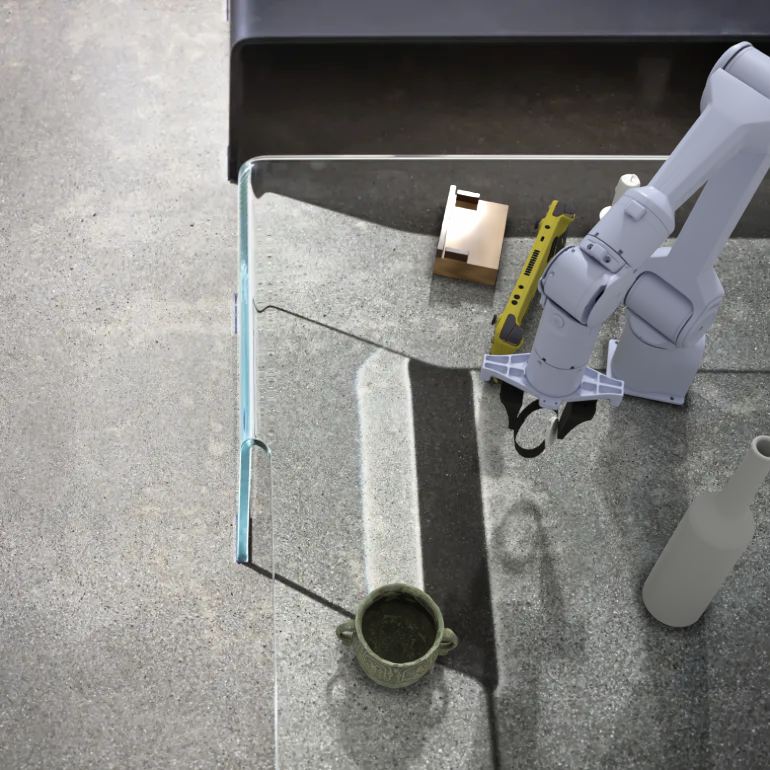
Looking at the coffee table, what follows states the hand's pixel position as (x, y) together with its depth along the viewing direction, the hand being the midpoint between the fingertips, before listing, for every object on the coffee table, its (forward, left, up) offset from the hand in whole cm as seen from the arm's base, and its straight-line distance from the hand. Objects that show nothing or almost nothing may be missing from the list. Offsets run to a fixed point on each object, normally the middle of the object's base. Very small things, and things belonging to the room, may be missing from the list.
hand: (535, 427), depth 125 cm
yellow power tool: (+3, -22, -7) cm, 23 cm away
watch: (0, 0, -2) cm, 2 cm away
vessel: (+10, +26, -7) cm, 29 cm away
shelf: (+11, -32, -7) cm, 35 cm away
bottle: (-17, +13, -7) cm, 23 cm away
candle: (-7, -38, -7) cm, 39 cm away
